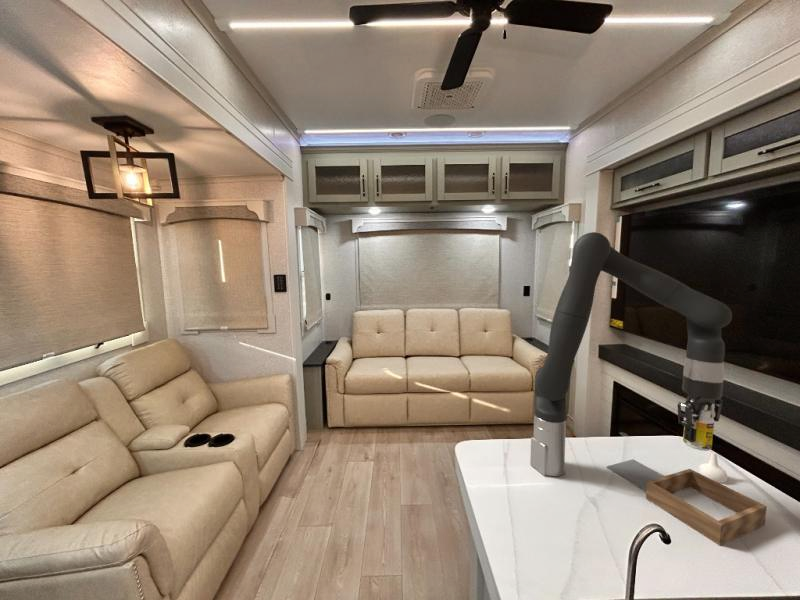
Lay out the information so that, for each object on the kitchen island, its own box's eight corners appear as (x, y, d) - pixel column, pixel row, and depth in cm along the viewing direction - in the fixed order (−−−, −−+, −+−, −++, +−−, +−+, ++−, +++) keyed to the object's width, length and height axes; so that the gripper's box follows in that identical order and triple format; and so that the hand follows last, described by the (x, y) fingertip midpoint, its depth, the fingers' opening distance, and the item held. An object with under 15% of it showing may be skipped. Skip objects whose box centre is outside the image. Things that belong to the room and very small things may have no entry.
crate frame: (719, 545, 72) (721, 525, 72) (645, 498, 87) (646, 481, 87) (764, 525, 78) (766, 506, 77) (688, 484, 93) (689, 468, 92)
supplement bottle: (708, 454, 79) (711, 415, 78) (679, 444, 84) (682, 407, 83) (714, 447, 82) (717, 410, 81) (686, 438, 87) (689, 402, 86)
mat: (645, 491, 90) (645, 490, 90) (606, 467, 101) (606, 466, 101) (673, 482, 94) (674, 481, 94) (633, 460, 105) (633, 459, 105)
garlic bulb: (731, 487, 92) (736, 462, 91) (704, 480, 95) (709, 456, 94) (718, 475, 98) (724, 451, 97) (693, 468, 100) (698, 445, 100)
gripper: (703, 369, 87) (697, 428, 88) (667, 374, 83) (662, 435, 84) (739, 378, 80) (732, 441, 81) (702, 384, 76) (696, 451, 77)
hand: (697, 438), depth 83 cm, fingers closed on supplement bottle, 5 cm apart
